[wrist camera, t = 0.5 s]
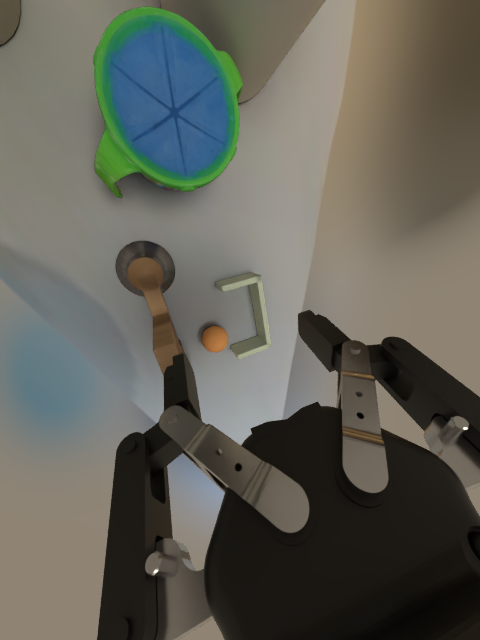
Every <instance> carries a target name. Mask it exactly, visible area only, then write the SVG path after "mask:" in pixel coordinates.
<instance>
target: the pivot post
mask: <svg viewBox="0 0 480 640" xmlns="http://www.w3.org/2000/svg"><path fill="white" fill-rule="evenodd" d="M140 257H149V258H152V259H154V260H156V261H157V262H158V263H159V265H160V266H161V268H162V271H163V281H162V283H161V285H160V289H161V292H162V293H163V292H165V291H166V290H167V289H168V288H169V287H170V286H171V284H172V282H173V280H174V277H175V266H174V262H173V260H172V258H171V256H170V255H169V253H168V252H167V251H166V250H165V249H164V248H162V247H161V246H159V245H157V244H155V243H152V242H148V241H138V242H133V243H131V244H129V245H127V246H126V247H124V248H123V249H122V250H121V252H120V253H119V255H118V257H117V260H116V272H117V276H118V278H119V280H120V282H121V283H122V284H123V285H124V287H126V288H127V289H128V290H129V291H131V292H133V293H134V294H137V295H140V296H145V295H144V293H143V291H142V290H139V289H137V288H136V287H134V286H133V285H132V284H131V282H130V281H129V278H128V268H129V266H130V264H131V263H132V262H133V261H134V260H135V259H137V258H140Z"/></svg>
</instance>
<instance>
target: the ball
mask: <svg viewBox="0 0 480 640" xmlns="http://www.w3.org/2000/svg"><path fill="white" fill-rule="evenodd" d="M202 343H203V346H204V347H205V348H206V349H207V350H208V351H210V352H220V351H222V350H223V349H224V348H225V347H226V346H227V343H228V335H227V333H226V331H225V330H224V329H223V328H221V327H219V326H212V327H209V328H208V329H206V330H205V331H204V333H203V335H202Z"/></svg>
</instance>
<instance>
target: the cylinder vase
mask: <svg viewBox="0 0 480 640" xmlns="http://www.w3.org/2000/svg"><path fill="white" fill-rule="evenodd" d="M325 1H326V0H160V2H161V9H164V10H167V11H169V12H173V13H175V14H178V15H179V16H181V17H183V18H184V19H186V20H187V21H189V22H190V23H191V24H193V25H194V26H195V27H196V28H197V29H198V30H199V31H200V32H202V34H203V35H204V36H206V38H207V39H208V40H209V41H210V43H211V44H212V45H213V47H214V48H215V49H216V50H217V51H224V52H226V53H228V54H229V55H230V56H231V58H232V60H233V61H234V63H235V65H236V67H237V69H238V71H239V74H240V76H241V79H242V82H243V89H242V91H241V95H240V98H239V102H238V103H242V102H245V101H247V100H249V99H251V98H252V97H254V96H255V95H256V94H257V93H258V92H259V91H260V90H261V89H262V88H263V86H264V85H265V84H266V82H267V81H268V79H269V78H270V77H271V75H272V74H273V73H274V71H275V70H276V68H277V67H278V66H279V64H280V63H281V61H282V60H283V59H284V57H285V56H286V55H287V53H288V52H289V50H290V49H291V48H292V46H293V45H294V43H295V42H296V41H297V39H298V38H299V37H300V35H301V34H302V32H303V31H304V30H305V28H306V27H307V25H308V24H309V23H310V21H311V20H312V19H313V17H314V16H315V14H316V13H317V12H318V10H319V9H320V7H321V6H322V5H323V3H324V2H325Z"/></svg>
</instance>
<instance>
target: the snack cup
mask: <svg viewBox="0 0 480 640" xmlns="http://www.w3.org/2000/svg"><path fill="white" fill-rule="evenodd" d="M94 67H95V68H94V75H95V88H96V93H97V98H98V102H99V106H100V110H101V113H102V115H103V118H104V122H105V131H104V134H103V136H102V138H101V141H100V144H99V146H98V150H97V152H96V156H95V163H94V166H95V172H96V173H97V175H98V176H99V177H100V178H101V179H102V180H103V182H104V183H105V184H106V185H107V186H108V187H109V189H110V190H111V191H112V192H113V193H114V194H115V195H116V196H117V197H119V198H122V197H123V196H122V193H121V190H120V189H119V188H118V186H117V185H116V182H117V181H119V180H120V179H121V178H122V177H125V176H127V175H129V174H131V173H135V172H139V173H142V174H143V175H144V177H146V178H147V179H148V180H149V181H151V182H152V183H153V184H155V185H156V186H158V187H160V188H163V189H166V190H172V191H176V190H180V191H194V190H195V189H196V188H200V187H203V186H205V185H207V184H209V183H210V182H212V181H213V180H215V179H216V178H217V177H218V176H219V175H220V174H221V173H222V172H223V171H224V169H225V168H226V166H227V165H228V163H229V162H230V161H231V160H232V159H233V157H234V155H235V152H236V149H237V148H236V144H237V140H238V135H239V108H238V102H239V98H240V95H241V91H242V89H243V82H242V79H241V76H240V74H239V71H238V69H237V67H236V65H235V63H234V61H233V60H232V58H231V56H230V55H229V54H228V53H226V52H224V51H217V50H216V49H215V48H214V47H213V45H212V44H211V43H210V41H209V40H208V39H207V38H206V36H204V35H203V34H202V32H200V31H199V30H198V29H197V28H196V27H195V26H194V25H193V24H191V23H190V22H189V21H187V20H186V19H184V18H183V17H181V16H179V15H178V14H175V13H173V12H169V11H167V10H164V9H160V8H154V7H139V8H135V9H131V10H128V11H126V12H123V13H122V14H120V15H119V16H118V17H117V18H115V19H114V20H113V21H112V22H111V24H110V25H109V26H108V27H107V29H106V30H105V32H104V34H103V36H102V38H101V40H100V43H99V46H97V48H96V51H95V53H94Z"/></svg>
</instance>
